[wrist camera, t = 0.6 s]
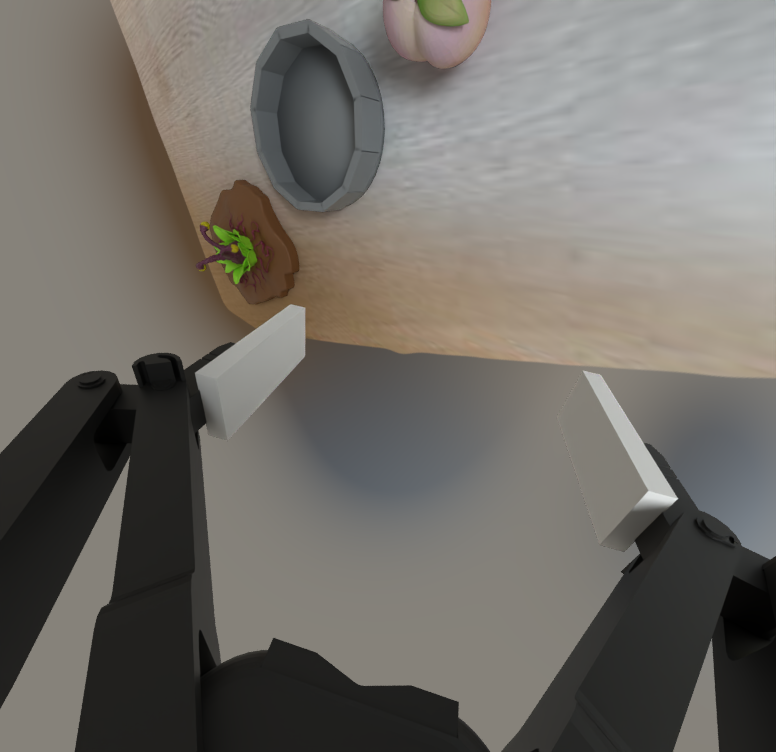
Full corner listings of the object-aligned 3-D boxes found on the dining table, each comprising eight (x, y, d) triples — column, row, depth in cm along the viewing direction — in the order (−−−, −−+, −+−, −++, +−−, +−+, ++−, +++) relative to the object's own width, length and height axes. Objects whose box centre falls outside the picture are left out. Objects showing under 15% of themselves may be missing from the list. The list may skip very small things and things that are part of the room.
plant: (209, 225, 66) (149, 232, 58) (250, 161, 53) (181, 158, 45) (261, 316, 70) (212, 334, 62) (312, 276, 57) (258, 292, 48)
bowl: (269, 48, 42) (239, 37, 39) (385, 21, 34) (359, 5, 31) (288, 204, 52) (265, 206, 49) (383, 213, 44) (363, 215, 41)
